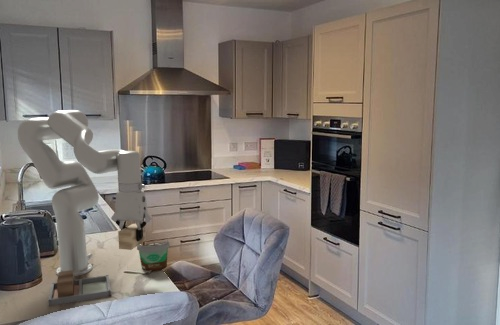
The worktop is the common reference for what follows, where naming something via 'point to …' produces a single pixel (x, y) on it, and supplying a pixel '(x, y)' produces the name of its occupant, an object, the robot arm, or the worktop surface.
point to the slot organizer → (91, 290)
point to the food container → (154, 256)
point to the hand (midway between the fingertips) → (132, 239)
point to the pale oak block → (129, 237)
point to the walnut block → (65, 284)
